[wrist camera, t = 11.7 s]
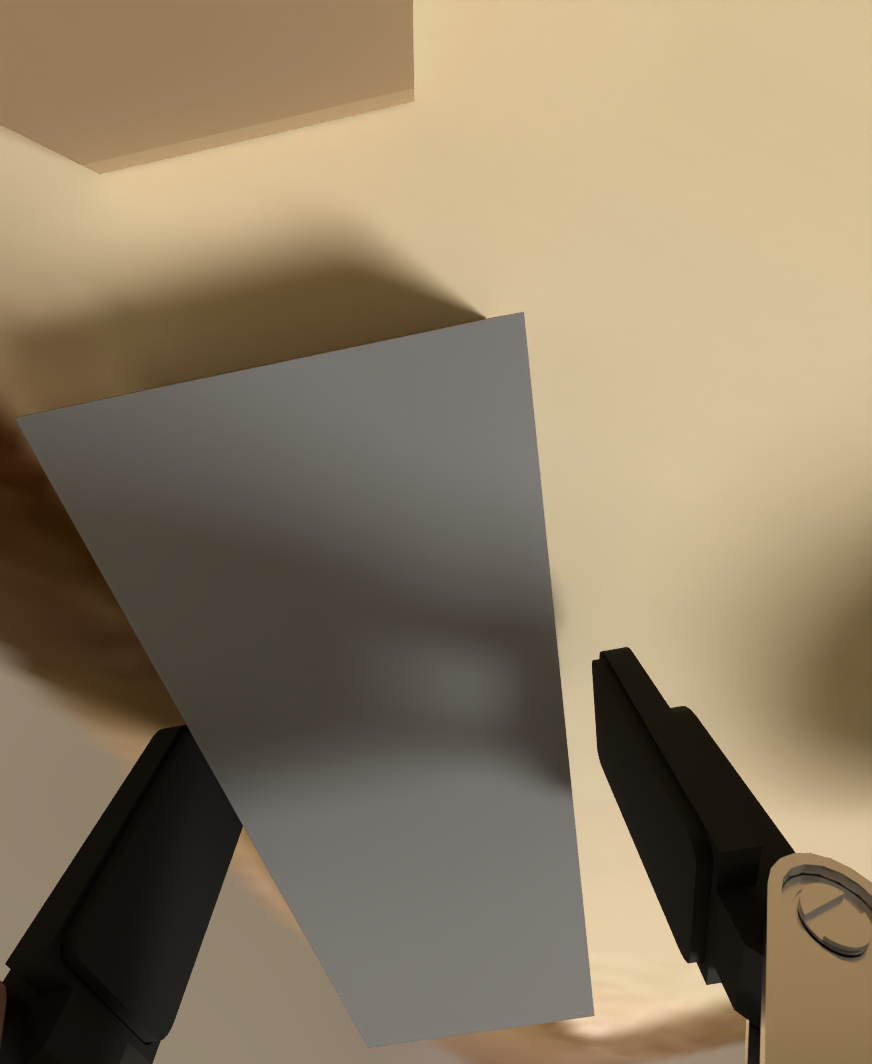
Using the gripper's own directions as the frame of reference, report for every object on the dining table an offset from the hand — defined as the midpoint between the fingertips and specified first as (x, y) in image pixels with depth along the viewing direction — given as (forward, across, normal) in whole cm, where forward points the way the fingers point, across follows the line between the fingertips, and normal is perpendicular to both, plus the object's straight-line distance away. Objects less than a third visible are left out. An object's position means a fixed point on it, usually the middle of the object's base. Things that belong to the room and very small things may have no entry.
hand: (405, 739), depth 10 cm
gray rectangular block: (+2, 0, +1) cm, 2 cm away
